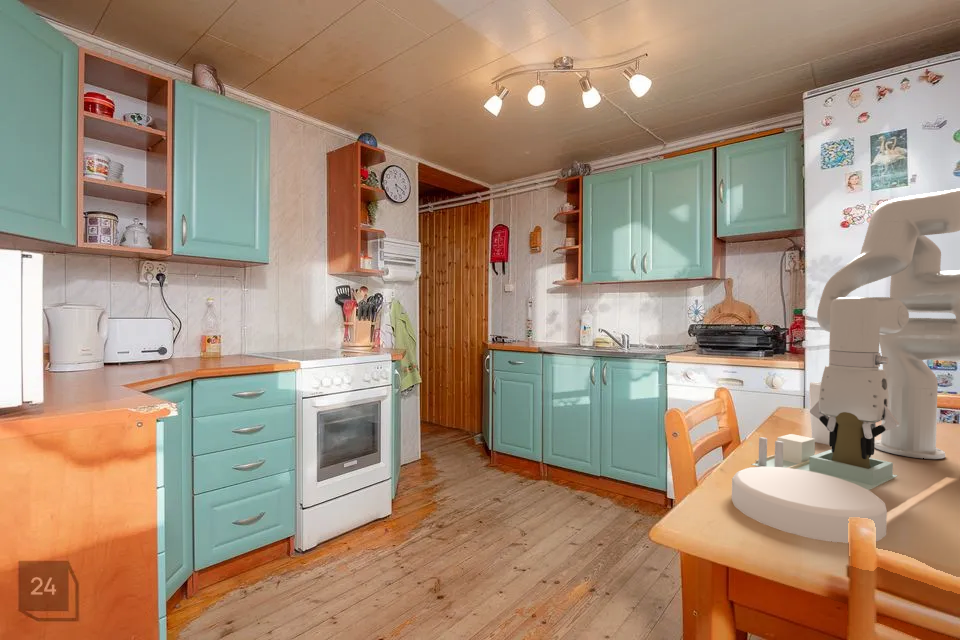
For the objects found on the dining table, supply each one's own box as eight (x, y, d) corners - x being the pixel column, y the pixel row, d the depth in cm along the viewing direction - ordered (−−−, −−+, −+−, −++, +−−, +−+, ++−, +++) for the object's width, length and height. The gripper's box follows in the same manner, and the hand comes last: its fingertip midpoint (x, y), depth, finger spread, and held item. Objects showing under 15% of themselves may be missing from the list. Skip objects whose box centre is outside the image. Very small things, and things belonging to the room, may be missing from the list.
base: (793, 456, 103) (793, 427, 103) (897, 481, 88) (898, 447, 88) (751, 470, 94) (752, 437, 94) (860, 501, 79) (861, 461, 78)
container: (905, 560, 60) (906, 524, 60) (730, 523, 70) (731, 493, 70) (867, 505, 77) (868, 478, 77) (732, 482, 87) (732, 458, 87)
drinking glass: (840, 443, 116) (841, 383, 115) (843, 449, 110) (845, 386, 110) (807, 439, 119) (808, 381, 119) (808, 444, 114) (810, 384, 113)
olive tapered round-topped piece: (878, 471, 86) (880, 413, 86) (841, 469, 87) (843, 411, 87) (858, 461, 92) (860, 406, 92) (824, 459, 93) (826, 405, 93)
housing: (790, 454, 101) (790, 433, 101) (814, 459, 97) (815, 438, 97) (776, 458, 98) (777, 437, 98) (801, 464, 94) (801, 442, 94)
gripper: (917, 364, 84) (914, 463, 85) (812, 356, 99) (810, 441, 99) (903, 366, 80) (900, 470, 81) (796, 357, 94) (794, 446, 95)
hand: (851, 453), depth 90 cm, fingers closed on olive tapered round-topped piece, 4 cm apart
